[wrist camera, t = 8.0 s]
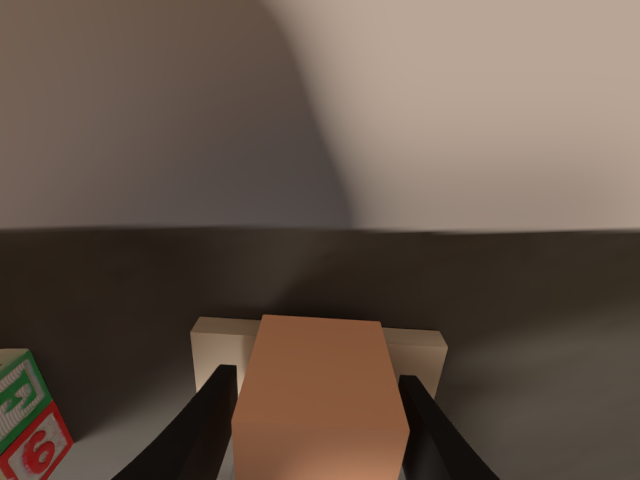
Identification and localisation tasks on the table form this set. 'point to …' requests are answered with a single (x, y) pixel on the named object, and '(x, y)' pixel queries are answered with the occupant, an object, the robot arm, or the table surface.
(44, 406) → the stack of blocks
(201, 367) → the channel deck
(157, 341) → the table surface
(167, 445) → the robot arm
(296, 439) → the terracotta block
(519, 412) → the table surface
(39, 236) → the table surface
